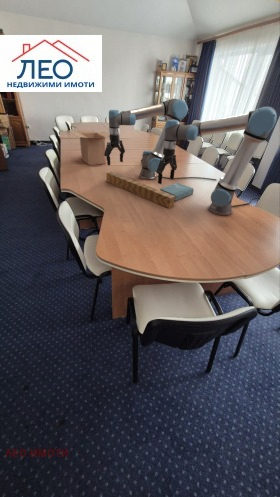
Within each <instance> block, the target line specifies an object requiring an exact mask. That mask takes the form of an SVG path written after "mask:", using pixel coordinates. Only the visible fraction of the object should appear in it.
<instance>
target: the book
mask: <svg viewBox="0 0 280 497" xmlns="http://www.w3.org/2000/svg"><path fill="white" fill-rule="evenodd" d="M159 190H160V191H162V192H165V193H168V194H170V195H173V196H175V198H174V202H176V201H179V200H182V199H184V198H186V197H188V196H191V195H193V194H194V188H193V187H191V186H188V185H185V184H183V183H180V182H175V183H172V184H170V185H166V186H164V187H161V188H159Z"/></svg>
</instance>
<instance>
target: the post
mask: <svg viewBox="0 0 280 497" xmlns="http://www.w3.org/2000/svg"><path fill="white" fill-rule="evenodd" d="M105 175H106V177H105V178H106V182H107V183H108V184H111V185H114V186H116V187H118V188H121V189H123V190H126V191H128V192H130V193H132V194H135V195H137V196H139V197H142V198H144V199H147V200H149V201H151V202H153V203H155V204H158V205H160V206H162V207H165V208H167V209H170V208H173V207H174V203H175V201H174V198H175V196H173V195H170V194H168V193H165V192H162V191H160V189H157V188H154V187H152V186H149V185H147V184H144V183H141V182H139V181H137V180H133V179H132V178H129V177H126V176H123V175H122V174H118V173H116V172H113V171H108V172H106V173H105Z"/></svg>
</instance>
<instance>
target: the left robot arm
mask: <svg viewBox="0 0 280 497" xmlns="http://www.w3.org/2000/svg"><path fill="white" fill-rule="evenodd" d="M188 110H189V107H188V104H187V102H186V101H184V100H183V99H181V98H179V99H178V98H171V99H168V100H163V101H161V102H160V103H158V104H153V105H148V106H144V107H140V108H134V109H130V110H122V111H119V110H118V109H109V111H108V134H109V136H110V137H109V141H107V142H106V145H105V153H104V156H105V157H106V163H107V166H111V154H112V151H113V150H114V149H115V148H117V149H118V151H119V162H120V163H124V154H125V153H126V149H125V146H124V144H123V140H122V139H120V136H121V135H120V126H135V125H136V122H137V121H140V120H144V119H149V118H153V117H158V116H162V117H166V121H167V120H178V121H179V124H180V123H181V121H182V120H183V119H184V118H185V117H186V116H187V114H188ZM163 125H164V126H163V128H162V130H161V132H160V134H159V137H158V139H157V141H156V144H155V146H154V149H153V150H143V152H142V157H141V160H142V163H141V169H140V172H139V174H138V175H139V178H140V179H142V180H146V181H154V180H156V178H158V175H157V173H156V171H157V169H158V166H159V163H160V159H161V157H162V158H164V155H163V149H164V138H165V127H166V122H165V123H164V124H163ZM162 179H168V180H171V179H170V177H166V176H162ZM180 179H203V180H204V179H205V180H209V181H210V180H212V181H217V179H216V178H210V177H200V176H189V177H187V176H186V177H185V176H184V177H174V179H173V180H180Z"/></svg>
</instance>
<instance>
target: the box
mask: <svg viewBox="0 0 280 497" xmlns="http://www.w3.org/2000/svg"><path fill="white" fill-rule="evenodd" d="M70 133H71V134H72V135H74V136H75V137H77V138H79V144H80V153H81V160H83V162H85V163H86V165H87V166H95V165H97V166H98V165H106V163H107V158H106V156H104V153H105V150H106V138H110V136H109V135H110V133H108V132H105V131H98V132H96V131H95V130H92V129H91V130H77V132H76V131H70Z"/></svg>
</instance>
